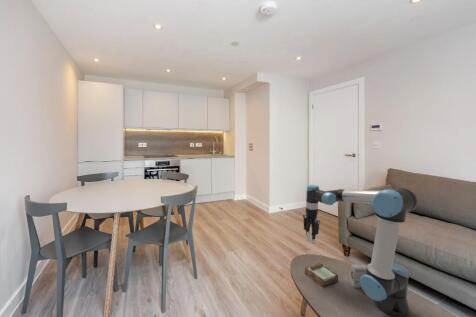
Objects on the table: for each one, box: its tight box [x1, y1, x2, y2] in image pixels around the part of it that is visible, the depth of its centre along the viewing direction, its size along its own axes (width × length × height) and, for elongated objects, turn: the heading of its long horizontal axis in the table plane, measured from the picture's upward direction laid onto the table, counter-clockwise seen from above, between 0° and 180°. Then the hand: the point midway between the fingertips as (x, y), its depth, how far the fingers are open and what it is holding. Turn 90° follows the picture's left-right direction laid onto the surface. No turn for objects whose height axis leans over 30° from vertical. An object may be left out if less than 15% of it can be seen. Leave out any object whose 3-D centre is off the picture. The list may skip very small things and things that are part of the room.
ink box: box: [349, 264, 367, 289], centre depth 133 cm, size 9×5×12 cm, turn 84°
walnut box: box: [304, 262, 339, 288], centre depth 140 cm, size 15×13×4 cm
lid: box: [308, 262, 336, 281], centre depth 140 cm, size 13×11×4 cm
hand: (310, 242), depth 148 cm, fingers open, 3 cm apart
